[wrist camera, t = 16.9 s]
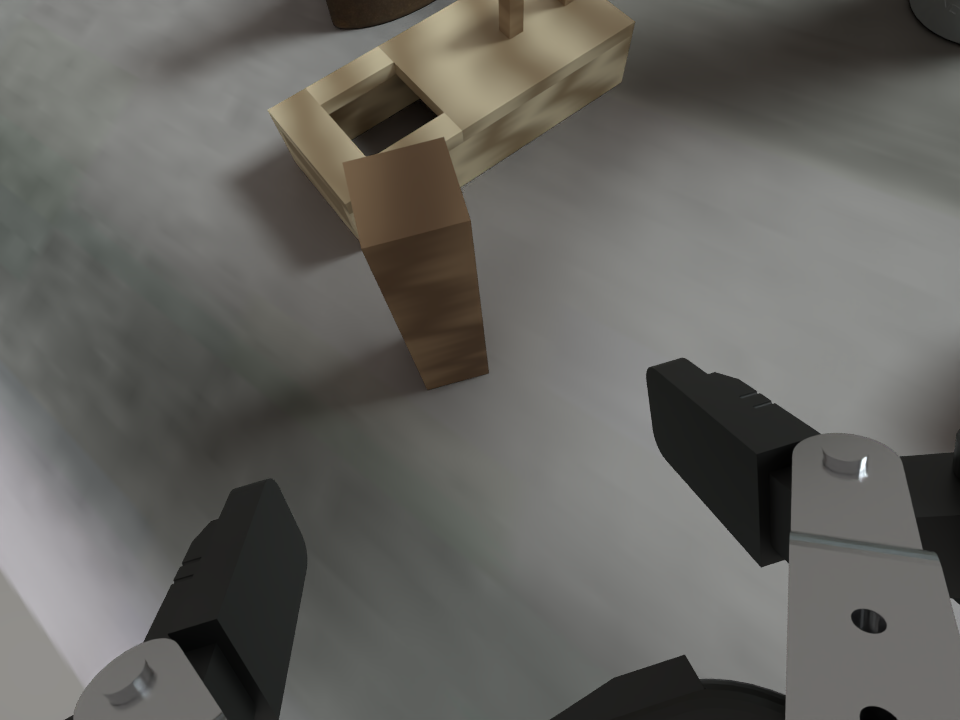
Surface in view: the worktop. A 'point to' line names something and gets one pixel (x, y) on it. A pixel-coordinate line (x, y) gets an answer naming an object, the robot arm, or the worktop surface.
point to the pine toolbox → (460, 85)
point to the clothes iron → (370, 11)
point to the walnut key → (422, 256)
